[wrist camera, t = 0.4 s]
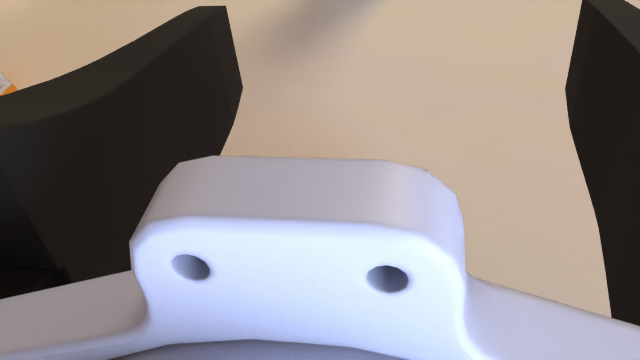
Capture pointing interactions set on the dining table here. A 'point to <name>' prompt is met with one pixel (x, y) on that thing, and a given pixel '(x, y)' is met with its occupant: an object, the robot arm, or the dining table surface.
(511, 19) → the dining table surface
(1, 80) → the supplement box
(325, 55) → the dining table surface
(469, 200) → the dining table surface
